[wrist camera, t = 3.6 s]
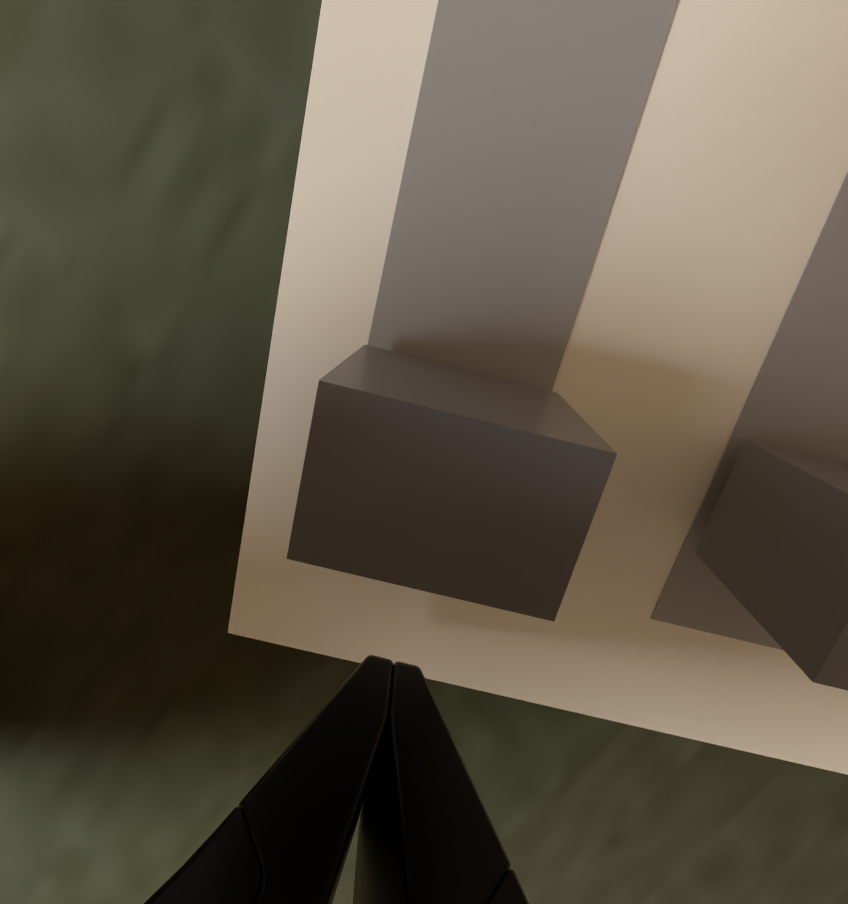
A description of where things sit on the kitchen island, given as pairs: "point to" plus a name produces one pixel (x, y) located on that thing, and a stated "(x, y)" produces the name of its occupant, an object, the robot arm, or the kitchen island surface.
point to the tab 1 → (447, 482)
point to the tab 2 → (787, 553)
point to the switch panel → (576, 323)
